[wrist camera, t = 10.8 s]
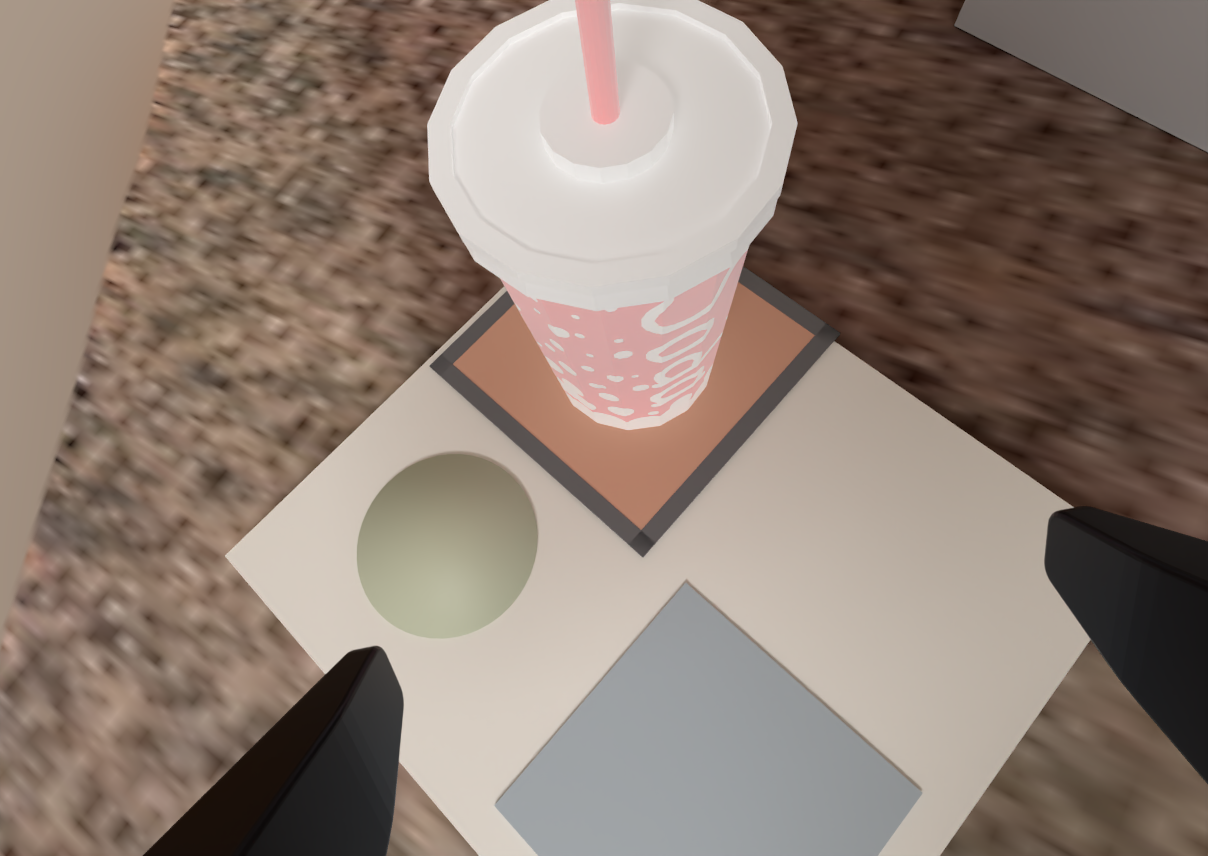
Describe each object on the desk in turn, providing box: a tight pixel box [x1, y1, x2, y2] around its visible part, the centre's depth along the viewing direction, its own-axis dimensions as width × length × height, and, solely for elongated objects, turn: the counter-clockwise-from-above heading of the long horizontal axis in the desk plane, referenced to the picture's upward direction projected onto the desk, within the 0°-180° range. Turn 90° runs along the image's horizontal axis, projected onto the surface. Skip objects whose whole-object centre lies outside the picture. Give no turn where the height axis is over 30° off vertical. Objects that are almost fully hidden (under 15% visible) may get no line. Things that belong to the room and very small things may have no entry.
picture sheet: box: [225, 266, 1091, 856], centre depth 18 cm, size 16×18×1 cm
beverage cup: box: [427, 0, 798, 430], centre depth 13 cm, size 6×6×14 cm
